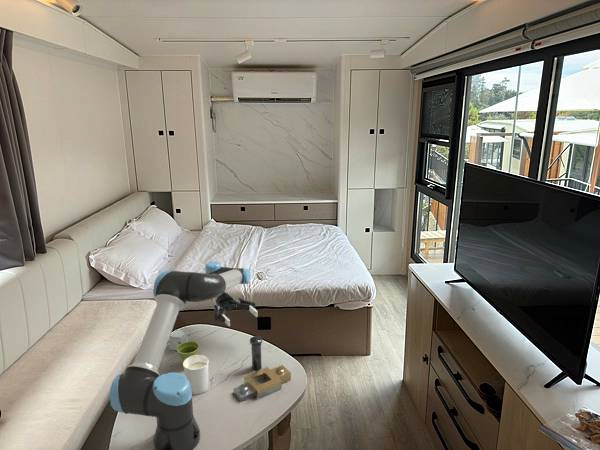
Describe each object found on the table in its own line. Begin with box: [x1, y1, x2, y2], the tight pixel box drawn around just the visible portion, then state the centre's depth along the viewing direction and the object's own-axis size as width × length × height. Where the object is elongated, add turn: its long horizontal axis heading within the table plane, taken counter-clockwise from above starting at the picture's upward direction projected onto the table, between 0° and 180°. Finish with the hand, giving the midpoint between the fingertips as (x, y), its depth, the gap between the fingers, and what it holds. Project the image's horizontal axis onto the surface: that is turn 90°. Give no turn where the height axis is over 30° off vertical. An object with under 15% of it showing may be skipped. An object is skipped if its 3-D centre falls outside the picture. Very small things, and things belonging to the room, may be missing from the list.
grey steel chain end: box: [232, 377, 282, 403], centre depth 167 cm, size 17×11×3 cm, turn 125°
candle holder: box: [182, 354, 209, 396], centre depth 166 cm, size 10×10×12 cm
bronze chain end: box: [243, 364, 292, 395], centre depth 170 cm, size 17×11×4 cm, turn 125°
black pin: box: [249, 335, 263, 372], centre depth 179 cm, size 5×5×14 cm
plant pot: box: [176, 340, 200, 366], centre depth 182 cm, size 9×9×9 cm
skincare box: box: [169, 329, 189, 351], centre depth 195 cm, size 6×6×7 cm
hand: (243, 318), depth 184 cm, fingers open, 13 cm apart
